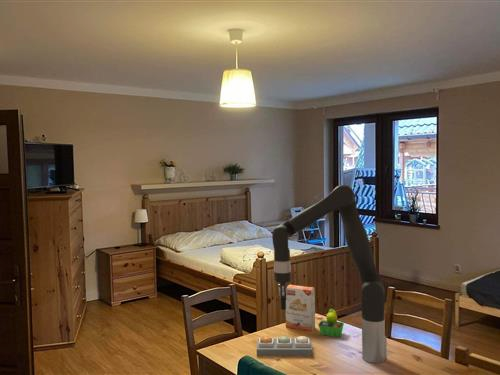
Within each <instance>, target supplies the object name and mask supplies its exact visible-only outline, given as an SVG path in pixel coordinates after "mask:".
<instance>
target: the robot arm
mask: <svg viewBox="0 0 500 375" xmlns="http://www.w3.org/2000/svg"><path fill="white" fill-rule="evenodd" d="M336 210H338V211H339V214H340V217H341V220H342V221H341V222H342V229H343V235H344V238H345V242H346V244H347V250H348V251H349V254H350V257H351V258H352V260H353V262H354V264H355V265H356V267H357V270H358V273H359V277H360V283H361V286H362V287H361V290H360V292H361V293H360V304H361V305H360V306H361V308H360V309H361V310H360V311H361V343H362V344H361V346H362V347H361V351H362V352H361V354H362V355H361V356H362V360H363V361H365V362H368V363H373V364H377V363H378V364H379V363H383V362H384V361H386V360H387V358H388V357H387V356H388V355H387V354H388V353H387V352H388V349H387V346H388V345H387V342H388V341H387V335H385V334H386V333H385V331H386V330H385V327H386V326H385V321H386V320H385V319H386V318H385V287H384V284H383V281H382V280H381V277H380V275H379V273H378V270H377V267H376V264H375V260H374V254H373V250H372V246H371V243H370V239H369V237H368V234H367V231H366V228H365V226H364V224H363V222H362V219H361V217H360V214H359V211H358V207H357V203H356V197H355V192H354V190H353V188H352V187H351V186H349V185H347V184H339V185H337V186H336V187H335V188H334V189H333V190H332V191H331V192H330V193H329V194H328V195H326V196H325V197H324V198H322V199H320V201H318V202H316V203H314V204H313V205H311V206H309V207H307V208H305V209H303V210H302V211H301V212H298V213H297V214H296V215H293V216H292V217H291V218H289V219H288V220H286V221H284V222H283V223H281V224H279V225H277V226H276V227H275V228H274V229H273V231H272V234H271V235H272V246H273V258H274V259H273V280H274V282H275V283H278V284H277V285H278V296H279V297H280V298H279V301H280V310H285V311H286V296H287V286H288V284H287V283H289V282H292V264H291V251H290V247H289V238H290V237H292V236H293V235H295V234H296V233H298V232H301V231H303V230H305V229H306V228H309V227H310V226H311V225H313V224H315V223H316V222H318V221H319V220H320V219H322V218H324V217H325V216H327V215H328V214H330V213H332V212H334V211H336Z"/></svg>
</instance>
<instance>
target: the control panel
mask: <svg viewBox="0 0 500 375" xmlns="http://www.w3.org/2000/svg"><path fill="white" fill-rule="evenodd" d="M256 343H257V344H256V357H313V346H312V340H311V338H309V337H307V343H297V337H294V338H292V337H289V343H279V337H277V338H274V337H271V343H261V337H259V338H257V342H256Z"/></svg>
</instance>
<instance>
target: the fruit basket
mask: <svg viewBox="0 0 500 375" xmlns="http://www.w3.org/2000/svg"><path fill="white" fill-rule="evenodd" d="M325 317H326V320H324V319H323V320H320V322H319V323H318V327H319V331H320V335H321V336H327V337H336V338H340V336H341V335H342V333H343V328H344V325H345V322H343V321H338V316H337V312H336V310H335V309H333V308H330V309H329V311H328V312H327V314H326V316H325Z"/></svg>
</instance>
